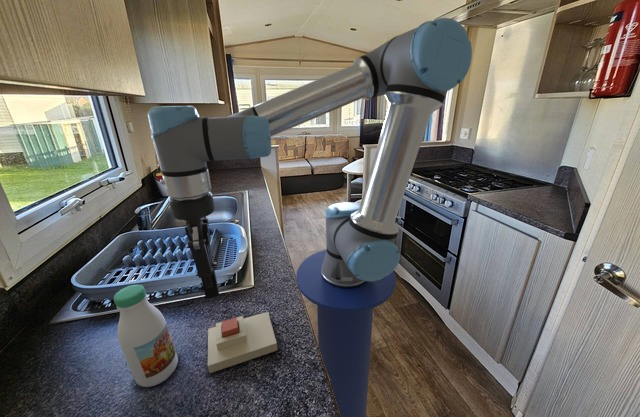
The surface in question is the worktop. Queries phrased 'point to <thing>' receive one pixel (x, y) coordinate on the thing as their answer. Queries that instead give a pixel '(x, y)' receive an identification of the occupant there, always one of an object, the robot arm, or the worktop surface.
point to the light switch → (240, 342)
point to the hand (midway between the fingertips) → (212, 295)
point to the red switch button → (229, 327)
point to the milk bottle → (144, 337)
